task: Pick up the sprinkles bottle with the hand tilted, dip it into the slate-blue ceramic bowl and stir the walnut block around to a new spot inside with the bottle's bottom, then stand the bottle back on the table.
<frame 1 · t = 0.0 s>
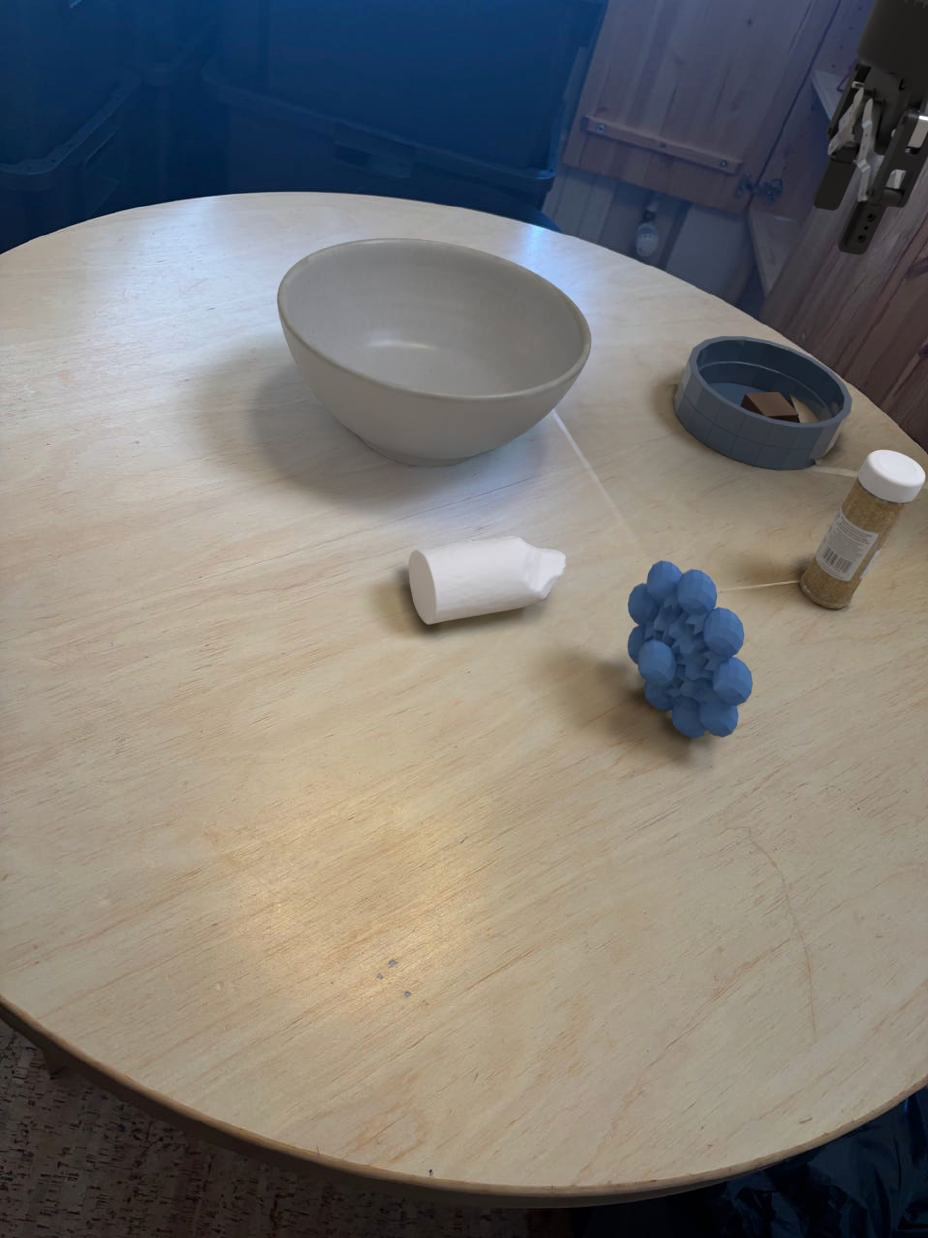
hand: (835, 228, 75), 24 cm above the table, tool pointing down, fingers open, 8 cm apart
decorative bowl: (419, 429, 89), on the table
sprinkles bottle: (822, 593, 82), on the table
white bottle: (488, 602, 74), on the table
blue knobbly ring: (648, 711, 69), on the table
block: (757, 437, 97), resting on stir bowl
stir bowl: (750, 424, 99), on the table
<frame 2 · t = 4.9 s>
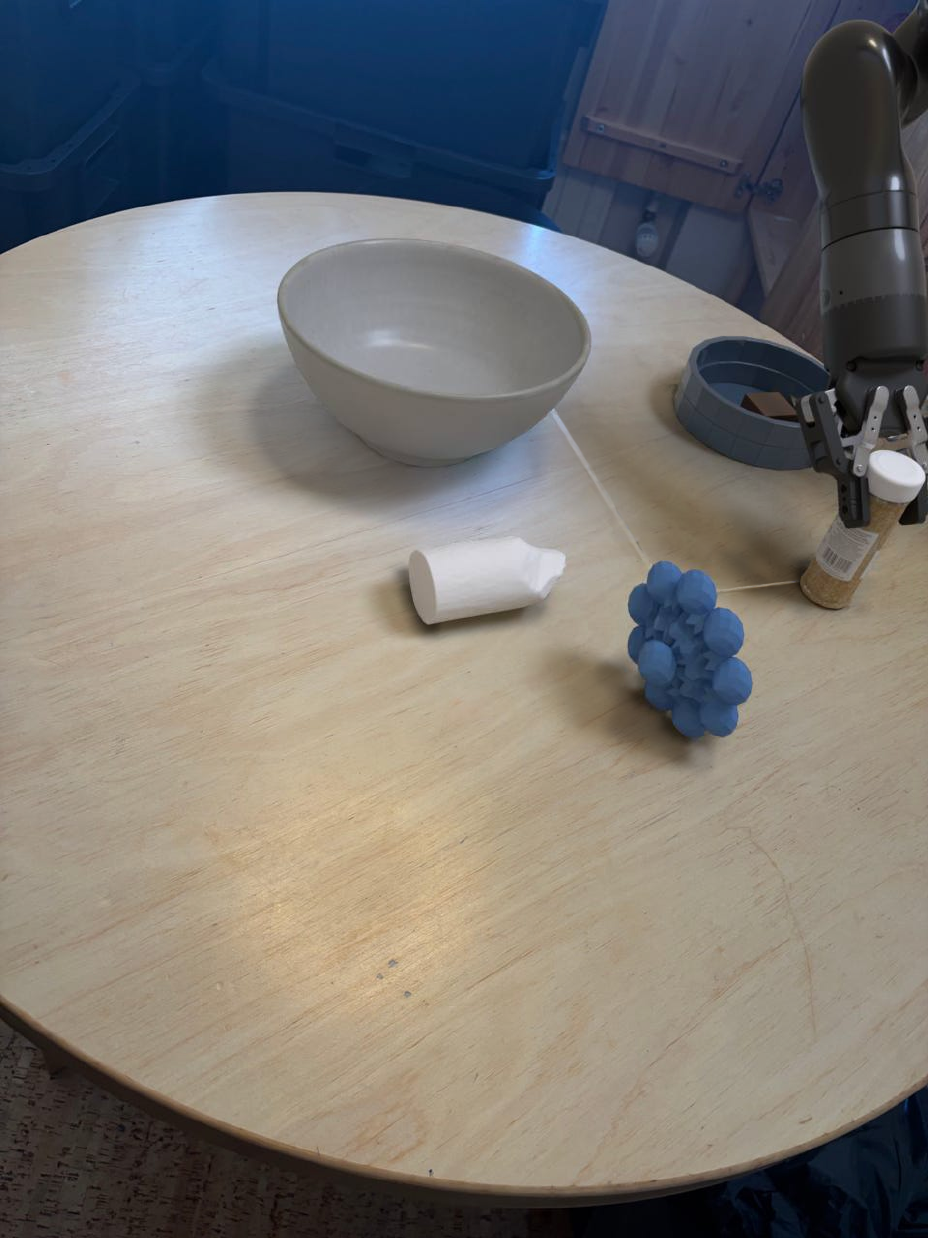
hand: (885, 524, 74), 9 cm above the table, tool tilted 45°, fingers closed on sprinkles bottle, 4 cm apart
sprinkles bottle: (822, 593, 82), on the table, touching gripper
everything else where it was.
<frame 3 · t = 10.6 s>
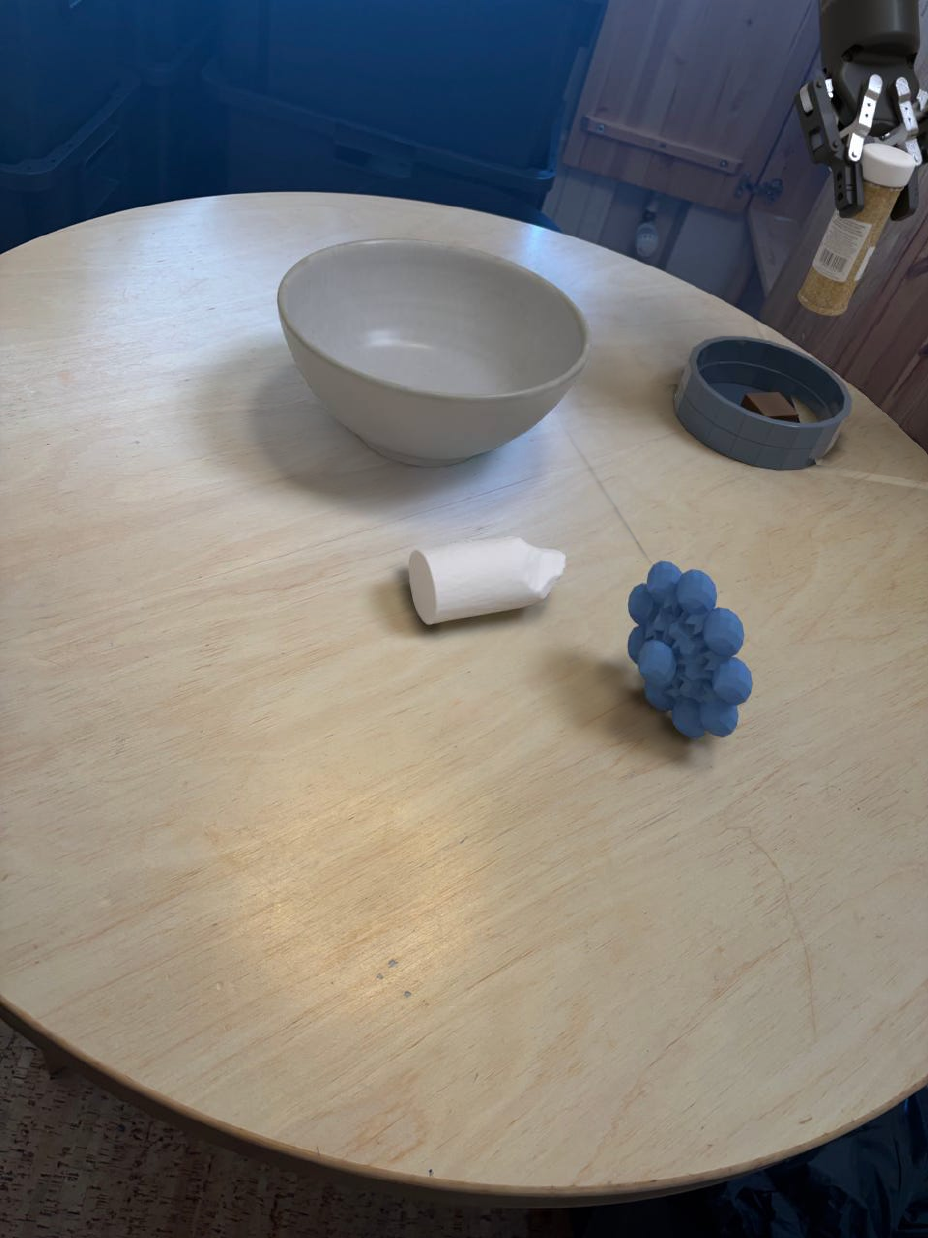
hand: (878, 215, 79), 24 cm above the table, tool tilted 45°, fingers closed on sprinkles bottle, 4 cm apart
sprinkles bottle: (818, 307, 87), point 15 cm above the table, touching gripper
everything else where it was.
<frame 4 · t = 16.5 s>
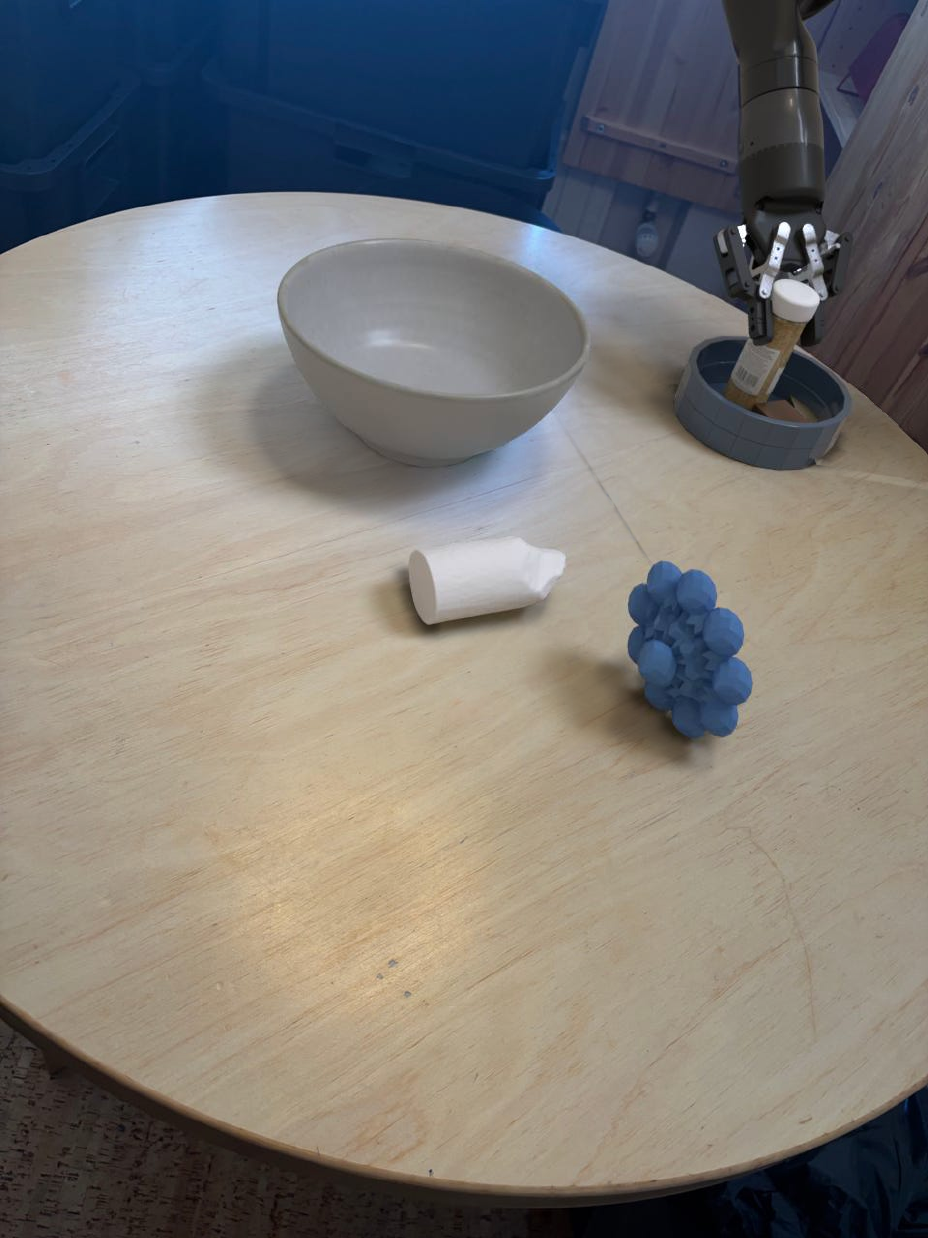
hand: (787, 343, 88), 11 cm above the table, tool tilted 45°, fingers closed on sprinkles bottle, 4 cm apart
sprinkles bottle: (737, 411, 97), point 2 cm above the table, touching block, gripper
block: (766, 446, 96), point 1 cm above the table, touching sprinkles bottle, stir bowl
everything else where it was.
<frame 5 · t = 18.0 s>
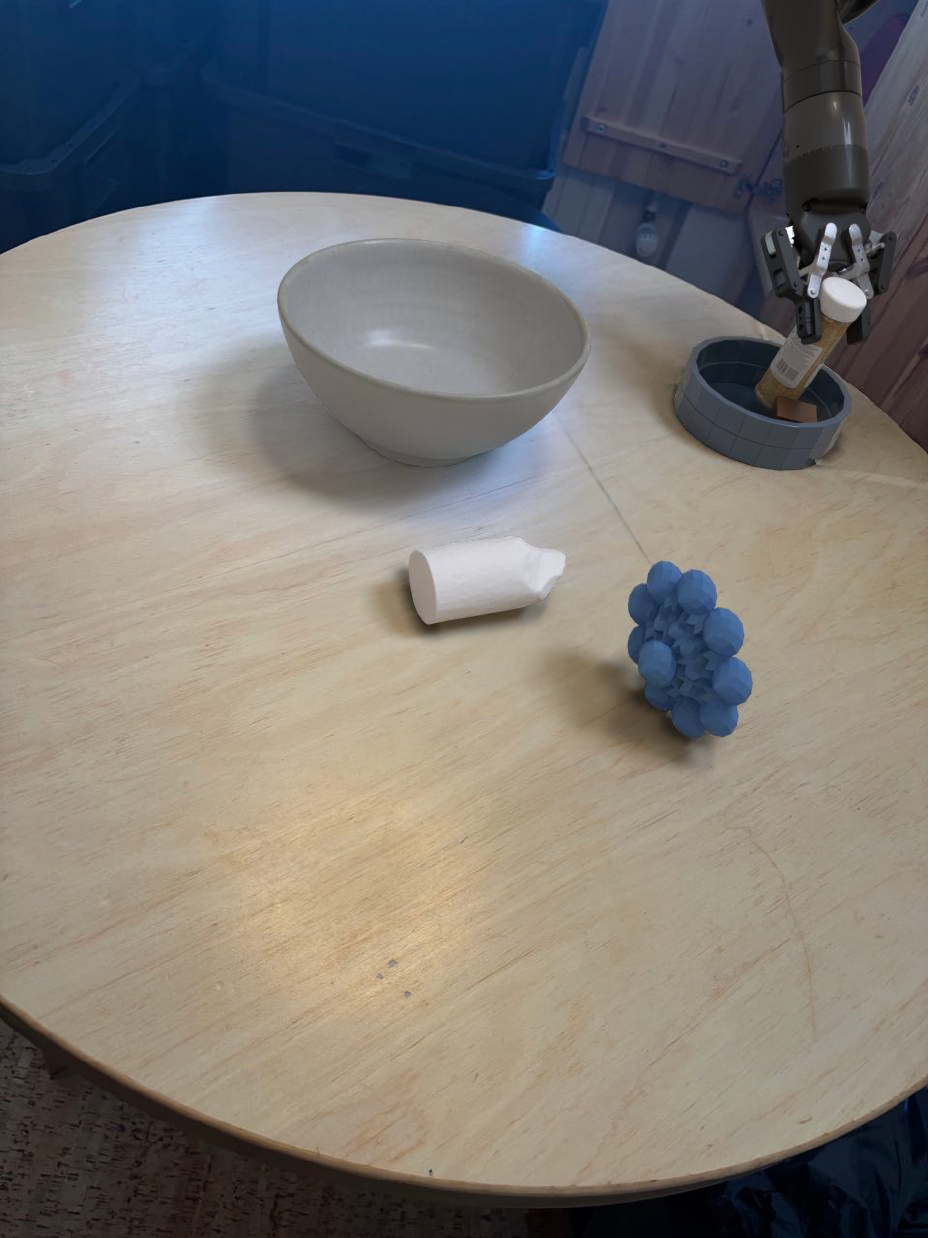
hand: (835, 341, 90), 11 cm above the table, tool tilted 45°, fingers closed on sprinkles bottle, 4 cm apart
sprinkles bottle: (771, 400, 99), point 2 cm above the table, touching gripper
block: (781, 443, 96), point 1 cm above the table, touching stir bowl
everything else where it was.
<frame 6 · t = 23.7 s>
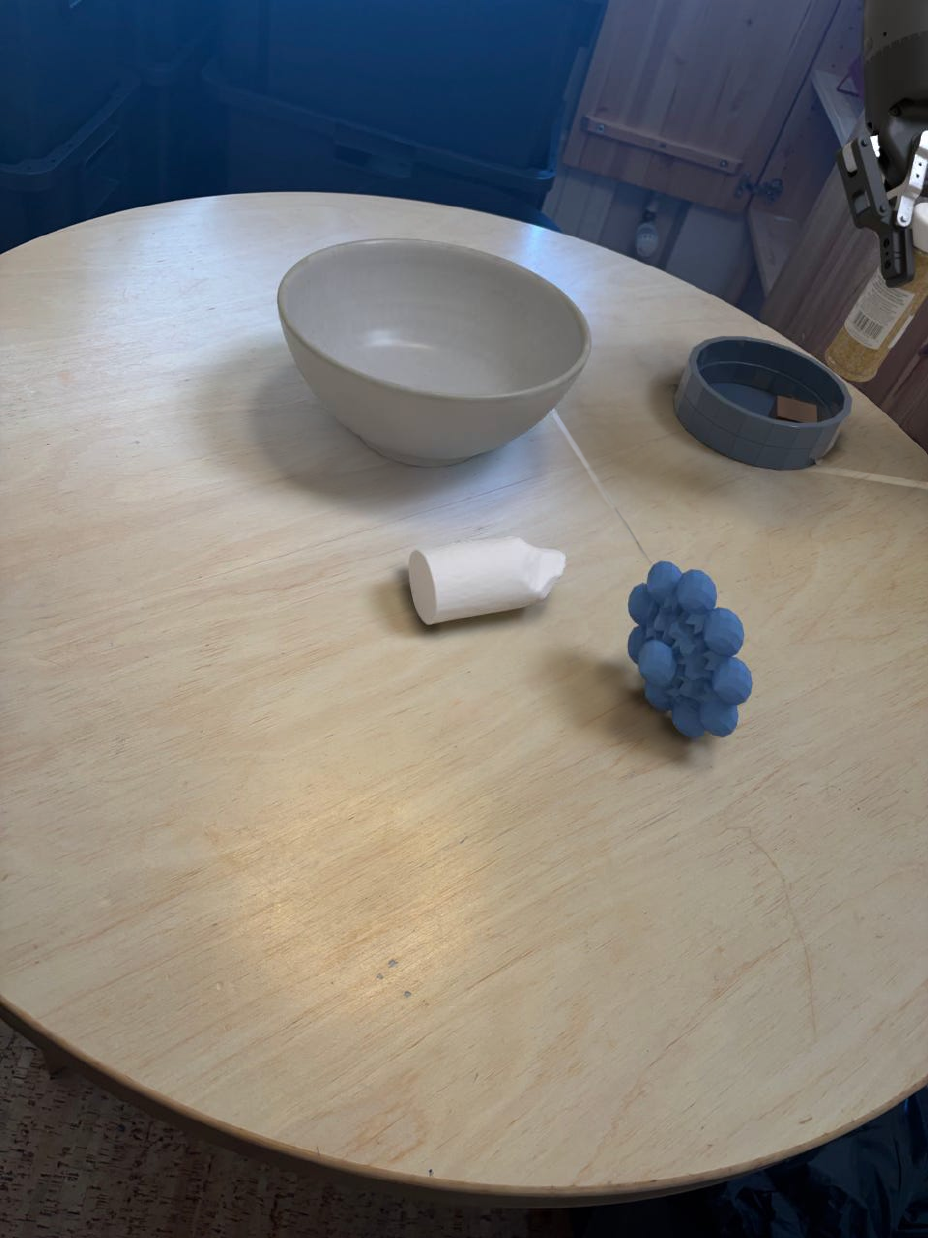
sprinkles bottle: (845, 368, 80), point 14 cm above the table, touching gripper
everything else where it was.
when the fingers open (9 cm above the table, at t = 29.3 s): sprinkles bottle stays where it is, on the table.
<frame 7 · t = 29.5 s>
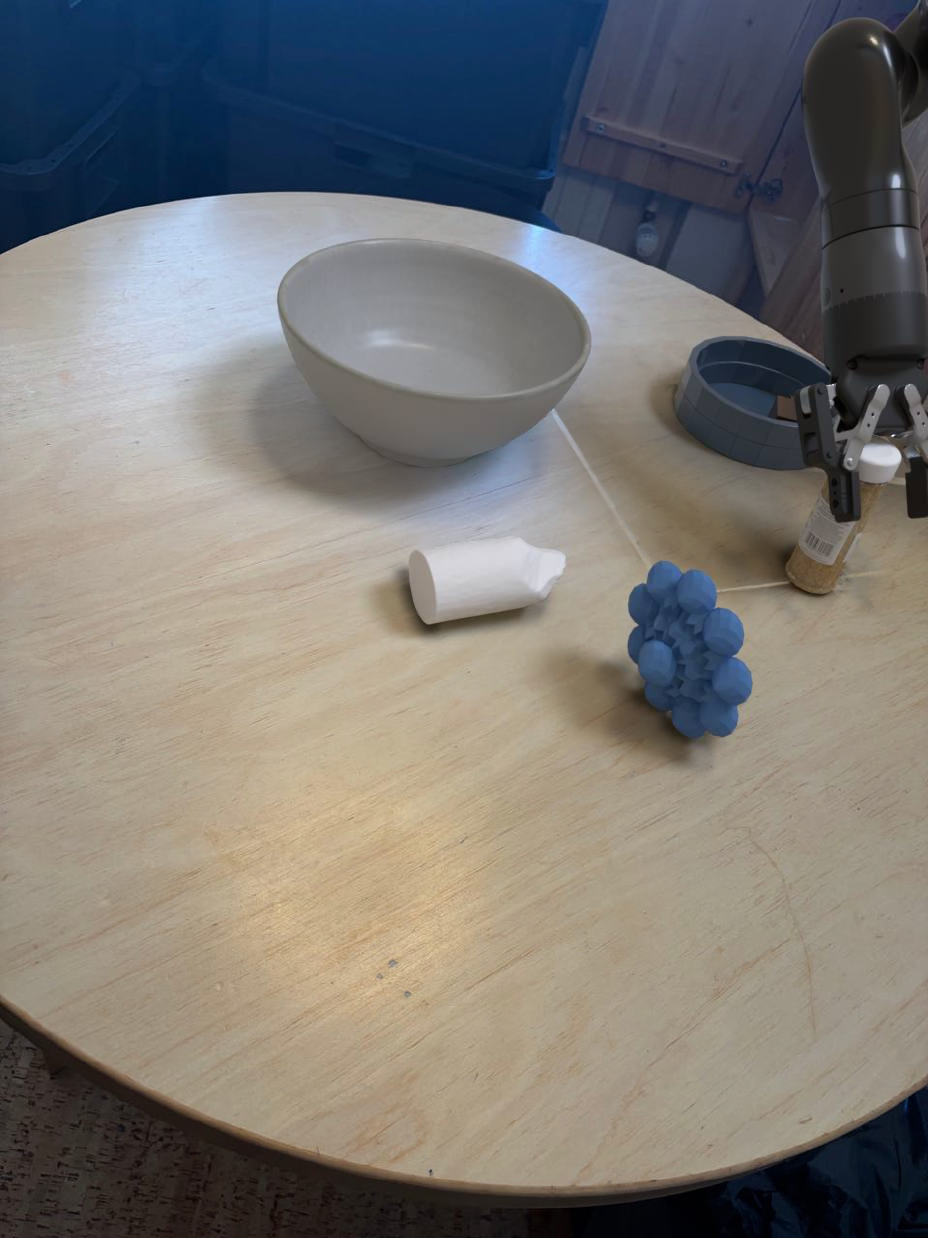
hand: (885, 519, 74), 9 cm above the table, tool tilted 45°, fingers open, 6 cm apart
sprinkles bottle: (807, 580, 82), on the table
everything else where it was.
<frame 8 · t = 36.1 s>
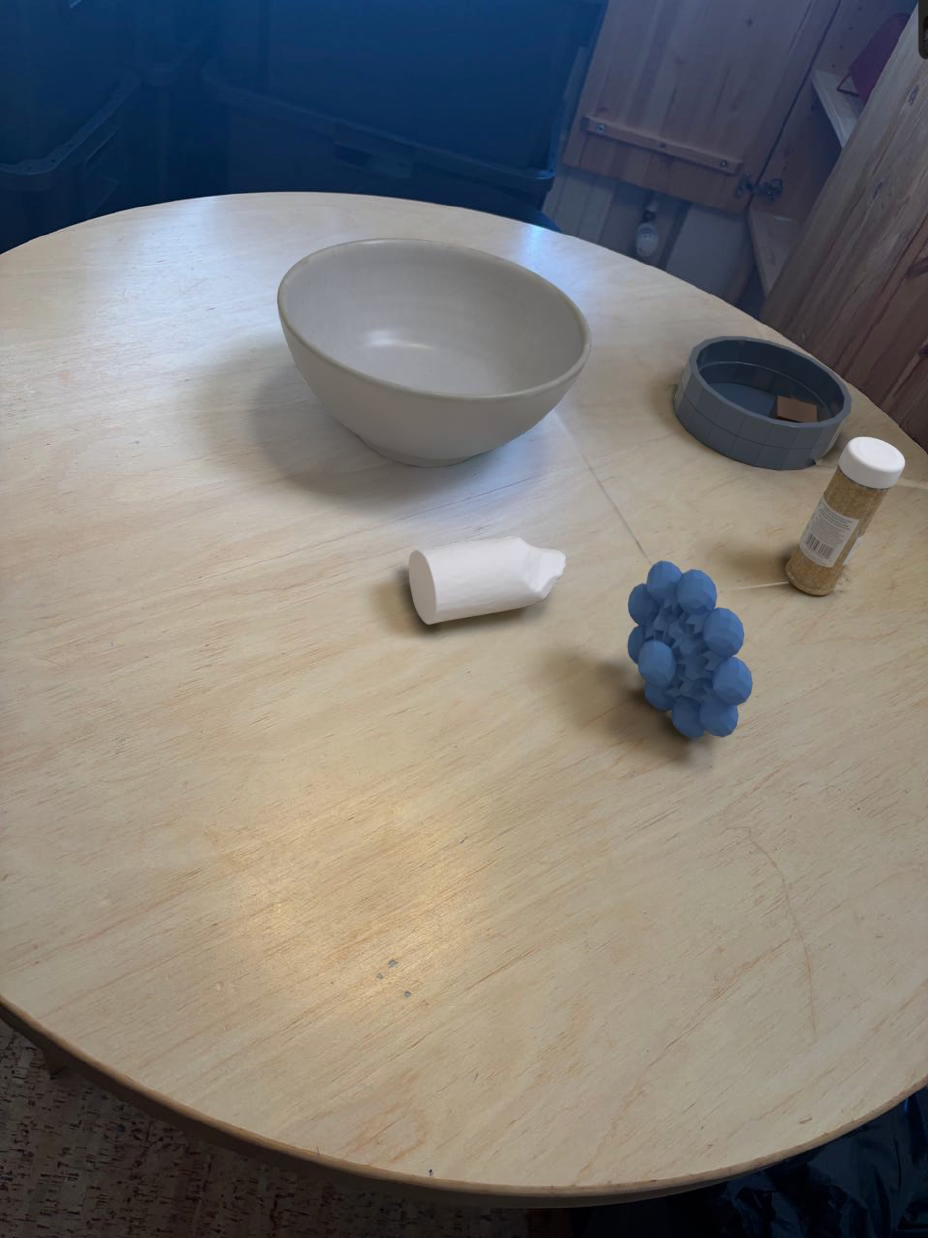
nothing on the table moved.
at the end: block moved 2.5 cm from its start; block inside the target area in the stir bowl (4.3 cm from its centre), point 0.5 cm above the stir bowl's base; sprinkles bottle tilted 1° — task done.
